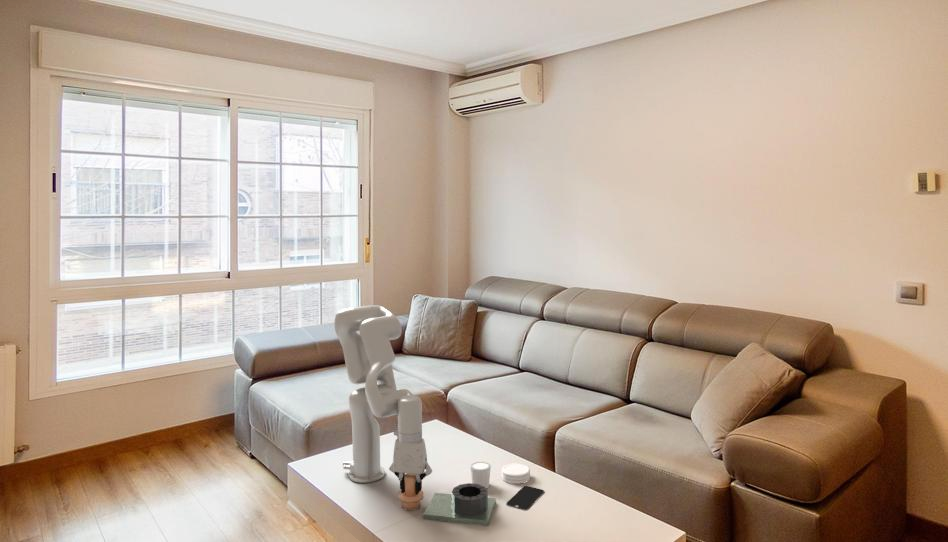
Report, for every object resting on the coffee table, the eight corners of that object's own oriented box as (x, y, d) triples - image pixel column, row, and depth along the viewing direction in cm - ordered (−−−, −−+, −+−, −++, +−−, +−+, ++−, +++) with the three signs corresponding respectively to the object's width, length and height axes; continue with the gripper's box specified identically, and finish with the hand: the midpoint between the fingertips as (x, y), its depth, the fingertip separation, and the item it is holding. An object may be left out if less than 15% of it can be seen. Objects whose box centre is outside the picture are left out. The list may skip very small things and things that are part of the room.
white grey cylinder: (488, 491, 193) (488, 470, 193) (468, 489, 195) (468, 469, 194) (492, 481, 200) (492, 462, 199) (472, 480, 201) (472, 460, 201)
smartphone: (504, 504, 184) (524, 484, 197) (504, 506, 184) (524, 487, 197) (526, 510, 180) (545, 490, 193) (526, 512, 180) (545, 492, 193)
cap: (394, 511, 180) (394, 480, 180) (403, 498, 188) (402, 469, 187) (419, 513, 179) (419, 482, 178) (426, 501, 187) (426, 471, 186)
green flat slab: (423, 519, 176) (422, 498, 175) (435, 497, 189) (435, 478, 189) (488, 525, 172) (488, 504, 171) (495, 502, 185) (495, 483, 185)
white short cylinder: (531, 473, 207) (531, 464, 206) (528, 486, 197) (528, 476, 197) (504, 471, 209) (504, 461, 209) (499, 483, 199) (499, 473, 199)
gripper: (380, 438, 179) (381, 495, 181) (432, 442, 176) (433, 500, 178) (388, 429, 187) (389, 484, 188) (439, 433, 183) (439, 488, 185)
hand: (410, 491), depth 183 cm, fingers closed on cap, 4 cm apart
